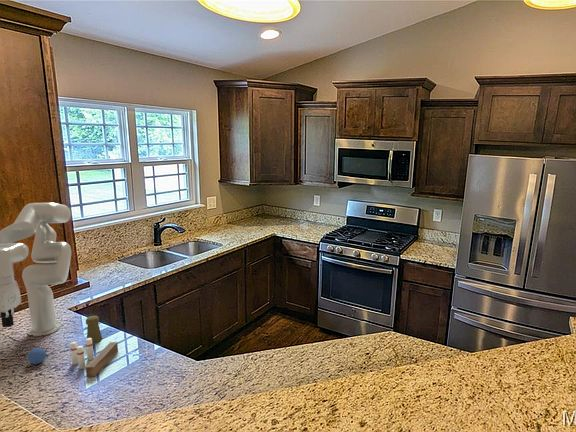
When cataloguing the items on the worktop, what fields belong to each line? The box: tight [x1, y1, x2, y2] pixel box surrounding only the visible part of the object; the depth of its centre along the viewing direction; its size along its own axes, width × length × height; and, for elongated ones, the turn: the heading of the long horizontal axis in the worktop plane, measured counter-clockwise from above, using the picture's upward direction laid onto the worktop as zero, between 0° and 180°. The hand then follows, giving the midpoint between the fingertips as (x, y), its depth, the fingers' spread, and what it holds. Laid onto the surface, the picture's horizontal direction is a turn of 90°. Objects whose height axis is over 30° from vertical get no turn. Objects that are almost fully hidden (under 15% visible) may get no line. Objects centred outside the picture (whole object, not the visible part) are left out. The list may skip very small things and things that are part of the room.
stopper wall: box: [85, 341, 119, 378], centre depth 143 cm, size 3×18×4 cm, turn 179°
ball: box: [27, 347, 47, 365], centre depth 143 cm, size 6×6×6 cm
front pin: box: [69, 341, 78, 366], centre depth 143 cm, size 2×2×8 cm
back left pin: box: [85, 337, 95, 362], centre depth 146 cm, size 2×2×8 cm
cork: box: [85, 315, 103, 345], centre depth 160 cm, size 6×6×11 cm
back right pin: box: [77, 345, 86, 370], centre depth 140 cm, size 2×2×8 cm
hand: (8, 325), depth 141 cm, fingers closed
